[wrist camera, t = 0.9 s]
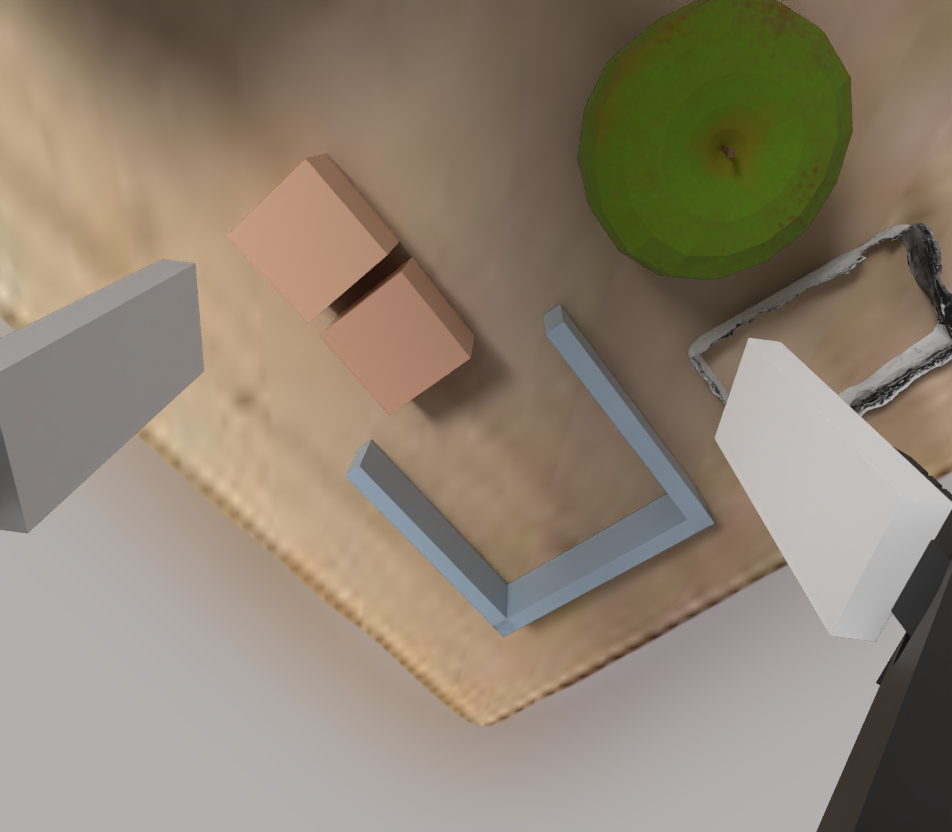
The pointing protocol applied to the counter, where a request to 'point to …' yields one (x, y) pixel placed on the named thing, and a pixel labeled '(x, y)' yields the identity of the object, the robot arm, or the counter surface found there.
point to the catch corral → (579, 564)
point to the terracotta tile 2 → (400, 337)
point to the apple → (715, 137)
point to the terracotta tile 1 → (313, 236)
